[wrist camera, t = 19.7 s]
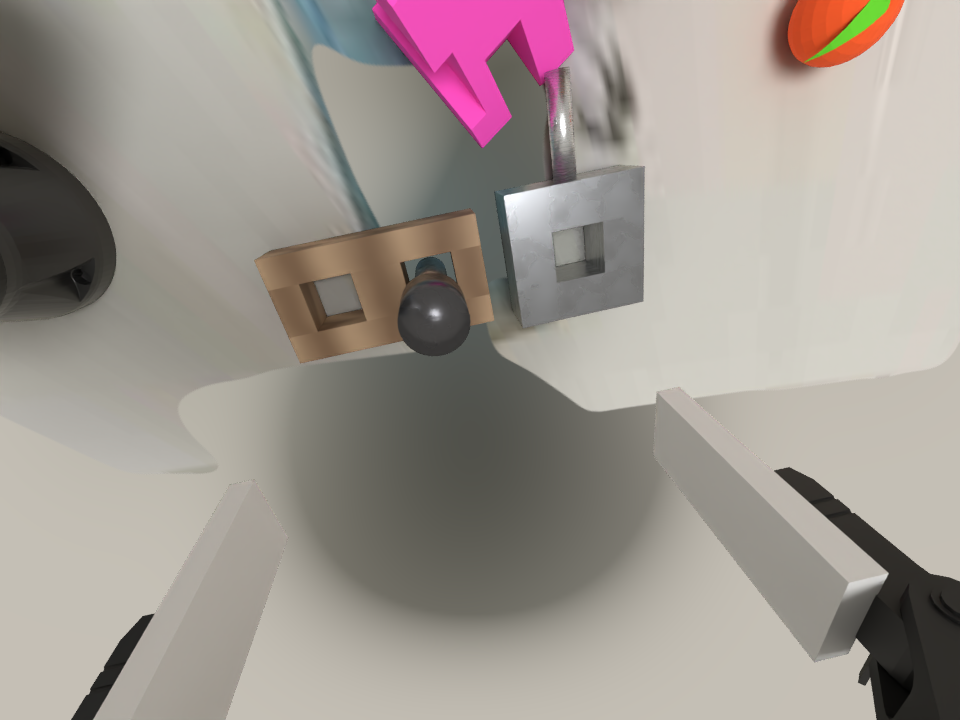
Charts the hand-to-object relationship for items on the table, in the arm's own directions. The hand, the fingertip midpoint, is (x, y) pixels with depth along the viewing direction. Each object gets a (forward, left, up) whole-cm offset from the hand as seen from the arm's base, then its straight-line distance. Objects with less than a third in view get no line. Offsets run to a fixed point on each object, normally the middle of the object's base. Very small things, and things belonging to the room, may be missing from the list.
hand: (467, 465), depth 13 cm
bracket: (+7, +17, -30) cm, 35 cm away
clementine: (+35, +13, -30) cm, 48 cm away
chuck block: (+13, -1, -30) cm, 32 cm away
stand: (-5, -1, -30) cm, 30 cm away
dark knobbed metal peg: (-1, -1, -30) cm, 30 cm away
